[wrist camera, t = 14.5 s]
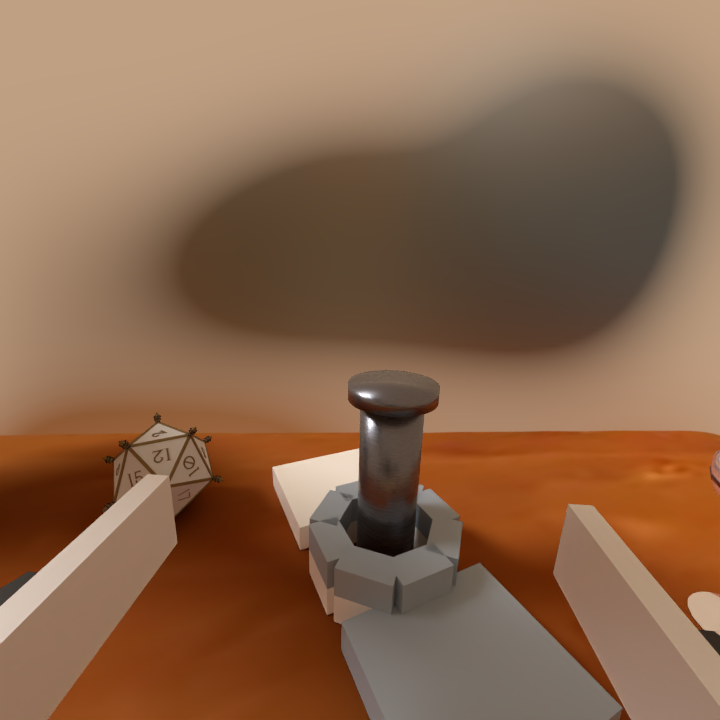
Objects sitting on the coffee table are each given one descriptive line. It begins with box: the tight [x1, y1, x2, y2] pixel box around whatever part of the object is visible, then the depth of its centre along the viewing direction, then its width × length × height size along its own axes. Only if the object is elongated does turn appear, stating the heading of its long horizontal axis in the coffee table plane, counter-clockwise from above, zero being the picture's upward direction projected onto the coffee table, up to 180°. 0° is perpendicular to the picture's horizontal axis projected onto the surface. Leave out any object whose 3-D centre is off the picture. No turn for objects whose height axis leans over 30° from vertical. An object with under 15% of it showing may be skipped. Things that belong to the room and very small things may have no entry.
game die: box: [102, 413, 223, 518], centre depth 30 cm, size 9×8×10 cm
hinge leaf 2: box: [309, 481, 623, 720], centre depth 22 cm, size 18×10×4 cm, turn 26°
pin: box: [348, 370, 440, 557], centre depth 24 cm, size 6×6×14 cm
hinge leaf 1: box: [273, 449, 428, 624], centre depth 29 cm, size 18×10×2 cm, turn 26°
